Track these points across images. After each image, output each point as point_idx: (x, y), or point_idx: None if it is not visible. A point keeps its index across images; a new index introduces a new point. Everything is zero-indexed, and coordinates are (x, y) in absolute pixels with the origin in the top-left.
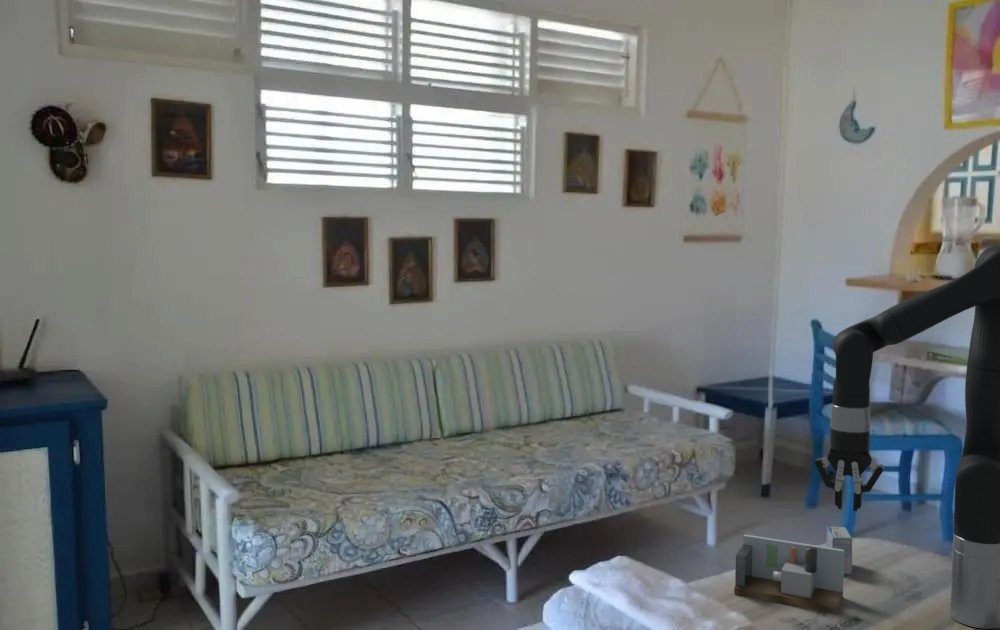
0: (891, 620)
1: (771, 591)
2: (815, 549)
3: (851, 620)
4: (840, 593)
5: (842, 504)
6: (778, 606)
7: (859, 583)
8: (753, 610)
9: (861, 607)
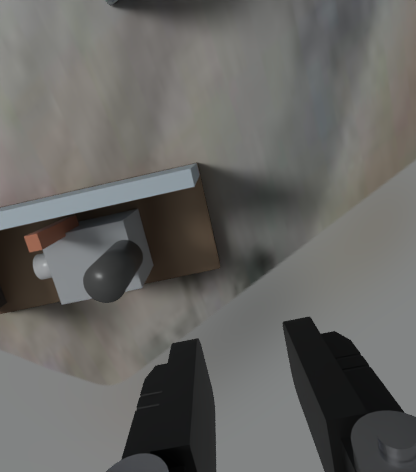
0: (328, 220)
1: None
2: (122, 284)
3: (256, 275)
4: (198, 186)
5: (202, 366)
6: (104, 306)
7: (198, 31)
8: (76, 355)
9: (252, 192)
